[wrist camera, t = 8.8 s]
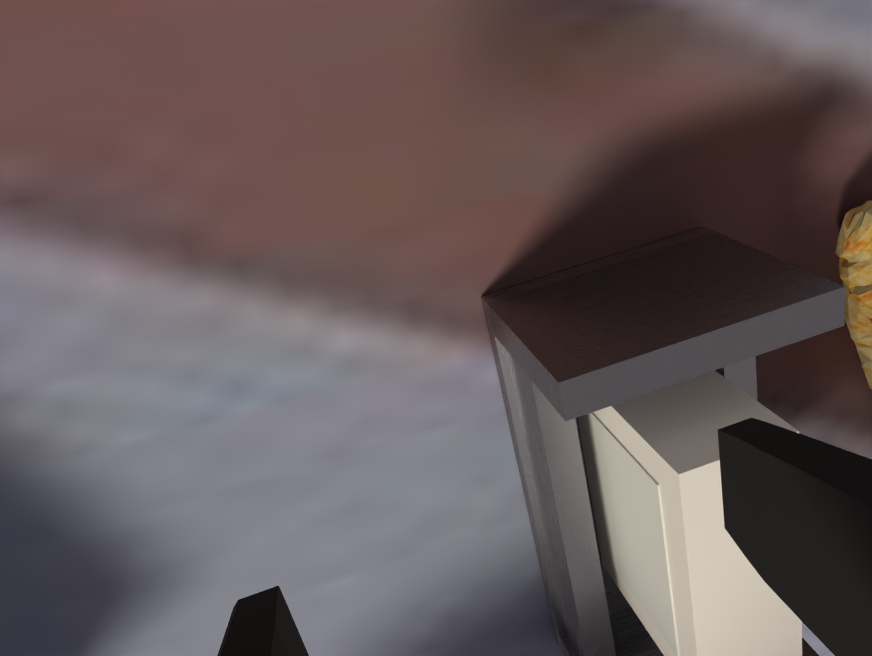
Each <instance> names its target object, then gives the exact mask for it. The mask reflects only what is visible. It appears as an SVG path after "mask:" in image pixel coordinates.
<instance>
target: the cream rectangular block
mask: <svg viewBox="0 0 872 656" xmlns="http://www.w3.org/2000/svg"><path fill="white" fill-rule="evenodd" d="M749 418H755V419H758V420H761V421H765V422H768V423H771V424H774V425H777V426H779V427H782V428H785V429H788V430H791V431H794V432H796V433H799V431H798V430H797V429H796V428H794V427H793V426H791V425H790V424H789V423H787V422H786V421H784V420H783V419H782V418H780V417H779V416H777V415H776V414H775V413H773V412H772V411H770V410H769V409H768V408H766V407H765V406H763V405H762V404H761V403H759V402H758V401H757V400H755V399H754V398H752V397H751V396H750V395H748V394H747V393H745V392H744V391H743V390H741V389H740V388H738V387H737V386H736V385H734V384H733V383H731V382H730V381H729V380H727V379H726V378H724V377H723V376H722V375H720V374H719V373H717V372H716V371H715V370H714V371H711V372H708V373H705V374H702V375H700V376H697V377H694V378H691V379H688V380H685V381H682V382H679V383H676V384H673V385H670V386H668V387H665V388H662V389H659V390H656V391H653V392H650V393H647V394H644V395H641V396H638V397H636V398H633V399H630V400H627V401H624V402H621V403H618V404H615V405H612V406H609V407H606V408H603V409H601V410H598V411H595V412H592V413H589V414H586V415H583V416H580V417H578V423H579V429H580V435H581V441H582V447H583V452H584V458H585V464H586V470H587V476H588V482H589V488H590V494H591V500H592V506H593V511H594V517H595V523H596V529H597V535H598V541H599V547H600V553H601V559H602V564H603V566H604V567H605V569H606V570H607V572H608V573H609V575H610V576H611V578H612V579H613V581H614V582H615V584H616V585H617V587H618V588H619V590H620V591H621V593H622V594H623V596H624V597H625V598H626V600H627V601H628V603H629V604H630V606H631V607H632V609H633V610H634V612H635V613H636V615H637V616H638V618H639V619H640V621H641V622H642V624H643V625H644V627H645V628H646V630H647V631H648V633H649V634H650V636H651V637H652V639H653V640H654V642H655V643H656V645H657V646H658V647H659V649H660V650H661V652H662V653H663V655H664V656H802V621H801V620H800V619H799V618H798V617H797V616H796V614H795V613H794V612H793V611H792V610H791V609H790V608H789V607H788V606H787V605H786V604H785V603H784V602H783V601H782V600H781V599H780V598H779V597H778V596H777V594H776V593H775V592H774V591H773V590H772V589H771V588H770V587H769V586H768V585H767V584H766V583H765V582H764V580H763V579H762V578H761V576H760V575H759V574H758V573H757V571H756V570H755V569H754V567H753V566H752V565H751V563H750V562H749V561H748V560H747V558H746V557H745V556H744V554H743V553H742V551H741V550H740V549H739V547H738V546H737V545H736V543H735V542H734V540H733V539H732V538H731V536H730V535H729V533H728V532H727V531H726V529H725V527H724V513H723V499H722V485H721V471H720V457H719V443H718V429H721V428H723V427H726V426H729V425H732V424H735V423H738V422H740V421H743V420H746V419H749Z"/></svg>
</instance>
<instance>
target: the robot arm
mask: <svg viewBox="0 0 872 656" xmlns="http://www.w3.org/2000/svg"><path fill="white" fill-rule="evenodd" d="M718 443H719V457H720V471H721V485H722V499H723V513H724V527H725V529H726V531H727V532H728V533H729V535H730V536H731V538H732V539H733V540H734V542H735V543H736V545H737V546H738V547H739V549H740V550H741V551H742V553H743V554H744V556H745V557H746V558H747V560H748V561H749V562H750V563H751V565H752V566H753V567H754V569H755V570H756V571H757V573H758V574H759V575H760V576H761V578H762V579H763V580H764V582H765V583H766V584H767V585H768V586H769V587H770V588H771V589H772V590H773V591H774V592H775V593H776V594H777V596H778V597H779V598H780V599H781V600H782V601H783V602H784V603H785V604H786V605H787V606H788V607H789V608H790V609H791V610H792V611H793V612H794V613H795V614H796V616H797V617H798V618H799V619H800V620H801V621H802V622H803V623H804V624H805V625H806V626H807V627H808V628H809V629H810V630H811V631H812V632H813V633H814V634H815V635H816V636H817V637H818V638H819V639H820V641H821V642H822V643H823V644H824V645H825V646H826V647H827V648H828V649H829V650H830V651H831V652H832V653H833V654H834V655H835V656H872V459H869V458H866V457H863V456H860V455H857V454H855V453H852V452H849V451H846V450H843V449H841V448H838V447H835V446H832V445H830V444H827V443H824V442H821V441H819V440H816V439H813V438H810V437H808V436H805V435H802V434H799V433H796V432H794V431H791V430H788V429H785V428H782V427H779V426H777V425H774V424H771V423H768V422H765V421H761V420H758V419H755V418H749V419H746V420H743V421H740V422H738V423H735V424H732V425H729V426H726V427H723V428H721V429H718ZM217 656H309V655H308V653H307V650H306V648H305V646H304V643H303V641H302V639H301V636H300V634H299V632H298V629H297V627H296V625H295V622H294V620H293V618H292V615H291V613H290V611H289V609H288V606H287V604H286V602H285V599H284V597H283V595H282V592H281V590H280V588H279V586H276V587H273V588H271V589H268V590H265V591H262V592H259V593H257V594H254V595H251V596H248V597H245V598H242V599H240V600H238V601H237V603H236V605H235V606H234V608H233V611H232V614H231V617H230V620H229V623H228V626H227V629H226V632H225V635H224V638H223V641H222V644H221V647H220V650H219V653H218V655H217Z"/></svg>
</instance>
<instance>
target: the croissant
mask: <svg viewBox="0 0 872 656" xmlns="http://www.w3.org/2000/svg"><path fill="white" fill-rule="evenodd" d="M835 254H836V255H838V256H839V264H838V266H839V274H840V278H841V279H842V281H843V286H845V322H846V324H847V327H848V329H849V332H850V334H851V336H850V337H851V338H852V340H853V341H854V343H855V344H856V347H857V351H858V354H859V357H860V360H861V365H862V366H861V367H862V368H863V370H864V373H865V375H866V378H867V381H868V385H869V387H870V388H871V389H872V200H871V201H867V202H866V203H864V204H863V205H862V206H859V207H856V208H853V209H851V210H850V211H848V212H847V213H846V215H845V217H844V220H843V223H842V226H841V230H840V233H839V236H838V241H837V246H836V252H835Z"/></svg>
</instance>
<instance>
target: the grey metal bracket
mask: <svg viewBox="0 0 872 656" xmlns="http://www.w3.org/2000/svg"><path fill="white" fill-rule="evenodd" d="M481 298H482V303H483V307H484V312H485V316H486V321H487V326H488V330H489V335H490V339H491V344H492V348H493V353H494V358H495V362H496V367H497V371H498V376H499V380H500V385H501V390H502V394H503V399H504V403H505V408H506V412H507V417H508V422H509V426H510V431H511V435H512V440H513V444H514V449H515V454H516V458H517V463H518V467H519V472H520V476H521V481H522V486H523V490H524V495H525V499H526V504H527V508H528V513H529V518H530V522H531V527H532V531H533V536H534V541H535V545H536V550H537V554H538V559H539V563H540V568H541V573H542V577H543V582H544V586H545V591H546V595H547V600H548V605H549V609H550V614H551V618H552V623H553V627H554V632H555V637H556V641H557V643H558V645H559V647H560V649H561V651H562V653H563V655H564V656H664V655H663V653H662V652H661V650H660V649H659V647H658V646H657V645H656V643H655V642H654V640H653V639H652V637H651V636H650V634H649V633H648V631H647V630H646V628H645V627H644V625H643V624H642V622H641V621H640V619H639V618H638V616H637V615H636V613H635V612H634V610H633V609H632V607H631V606H630V604H629V603H628V601H627V600H626V598H625V597H624V596H623V594H622V593H621V591H620V590H619V588H618V587H617V585H616V584H615V582H614V581H613V579H612V578H611V576H610V575H609V573H608V572H607V570H606V569H605V567H604V566H603V564H602V559H601V553H600V547H599V541H598V535H597V529H596V523H595V517H594V511H593V506H592V500H591V494H590V488H589V482H588V476H587V470H586V464H585V458H584V452H583V447H582V441H581V435H580V429H579V423H578V417H580V416H583V415H586V414H589V413H592V412H595V411H598V410H601V409H603V408H606V407H609V406H612V405H615V404H618V403H621V402H624V401H627V400H630V399H633V398H636V397H638V396H641V395H644V394H647V393H650V392H653V391H656V390H659V389H662V388H665V387H668V386H670V385H673V384H676V383H679V382H682V381H685V380H688V379H691V378H694V377H697V376H700V375H702V374H705V373H708V372H711V371H714V370H715V371H716V372H717V373H719V374H720V375H722V376H723V377H724V378H726V379H727V380H729V381H730V382H731V383H733V384H734V385H736V386H737V387H738V388H740V389H741V390H743V391H744V392H745V393H747V394H748V395H750V396H751V397H752V398H754V399H755V400H757V401H758V399H757V376H756V356H758V355H761V354H764V353H766V352H769V351H772V350H775V349H778V348H781V347H784V346H787V345H790V344H793V343H796V342H799V341H801V340H804V339H807V338H810V337H813V336H816V335H819V334H822V333H825V332H828V331H831V330H833V329H836V328H839V327H842V326H845V286H843V285H840V284H838V283H835V282H833V281H831V280H828V279H826V278H824V277H821V276H819V275H816V274H814V273H812V272H809V271H807V270H805V269H802V268H800V267H798V266H795V265H793V264H790V263H788V262H786V261H783V260H781V259H779V258H776V257H774V256H771V255H769V254H767V253H764V252H762V251H760V250H757V249H755V248H752V247H750V246H748V245H745V244H743V243H741V242H738V241H736V240H734V239H731V238H729V237H726V236H724V235H722V234H719V233H717V232H715V231H712V230H710V229H707V228H705V227H701V228H698V229H694V230H691V231H688V232H685V233H682V234H678V235H675V236H672V237H669V238H666V239H663V240H659V241H656V242H653V243H650V244H647V245H643V246H640V247H637V248H634V249H631V250H628V251H624V252H621V253H618V254H615V255H612V256H608V257H605V258H602V259H599V260H596V261H593V262H589V263H586V264H583V265H580V266H577V267H573V268H570V269H567V270H564V271H561V272H558V273H554V274H551V275H548V276H545V277H542V278H538V279H535V280H532V281H529V282H526V283H523V284H519V285H516V286H513V287H510V288H507V289H503V290H500V291H497V292H494V293H491V294H488V295H484V296H481ZM802 656H819V655H818V654H817V653H816V652H815V651H814V650H813V649H812V648H811V646H810V645H809V644H808V643H807V642H806V641H805V640H804V639H803V638H802Z"/></svg>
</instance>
